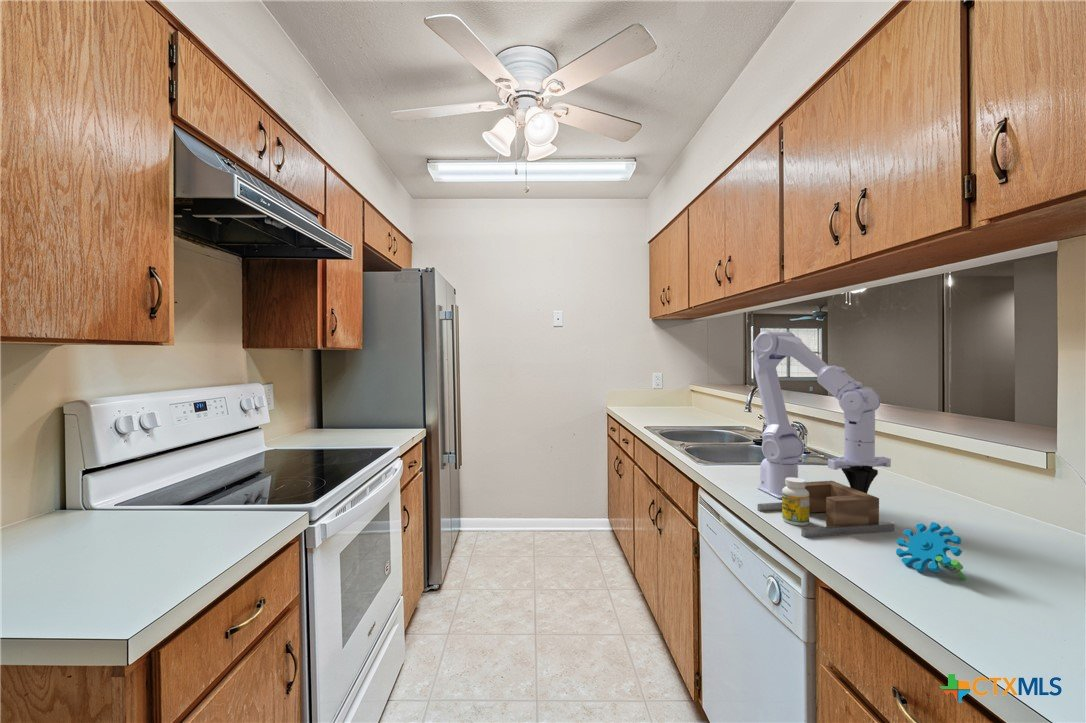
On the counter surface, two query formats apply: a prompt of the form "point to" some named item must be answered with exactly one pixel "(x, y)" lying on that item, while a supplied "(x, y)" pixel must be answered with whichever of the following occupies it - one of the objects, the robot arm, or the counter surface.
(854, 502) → the housing
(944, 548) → the gear
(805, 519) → the supplement bottle
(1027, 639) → the counter surface
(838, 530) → the guide rails
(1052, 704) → the counter surface
